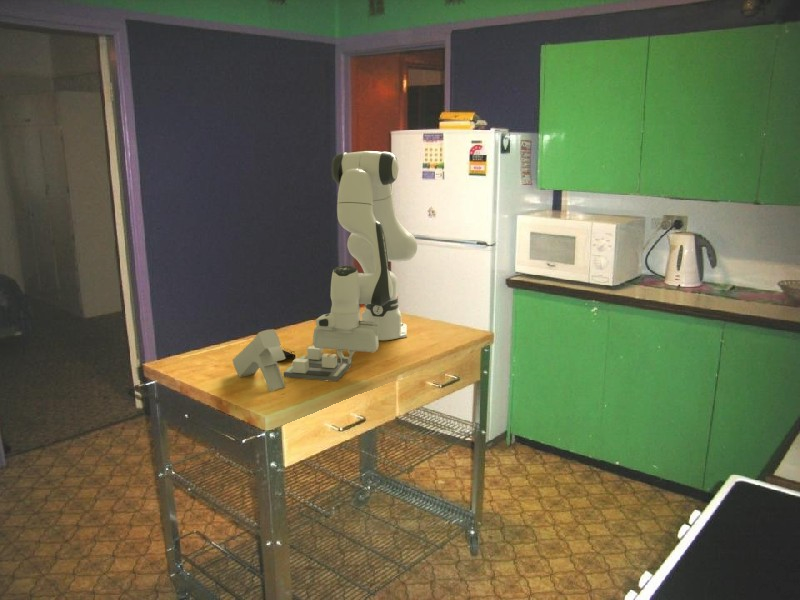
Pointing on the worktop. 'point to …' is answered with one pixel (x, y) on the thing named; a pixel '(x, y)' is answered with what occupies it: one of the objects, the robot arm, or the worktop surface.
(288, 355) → the hairbrush
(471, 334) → the worktop surface
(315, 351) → the block
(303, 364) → the block
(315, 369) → the panel
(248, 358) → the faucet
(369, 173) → the robot arm
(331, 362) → the breaker
